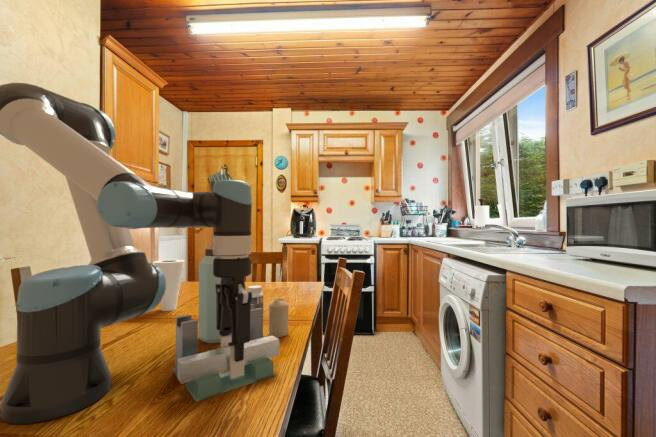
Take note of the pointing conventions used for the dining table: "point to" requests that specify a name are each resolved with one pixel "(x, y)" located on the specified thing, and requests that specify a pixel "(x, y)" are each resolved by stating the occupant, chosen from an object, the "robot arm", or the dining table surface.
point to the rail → (224, 359)
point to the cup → (171, 282)
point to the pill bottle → (256, 296)
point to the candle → (278, 318)
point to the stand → (189, 333)
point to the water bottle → (208, 299)
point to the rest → (229, 380)
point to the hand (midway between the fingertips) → (232, 371)
